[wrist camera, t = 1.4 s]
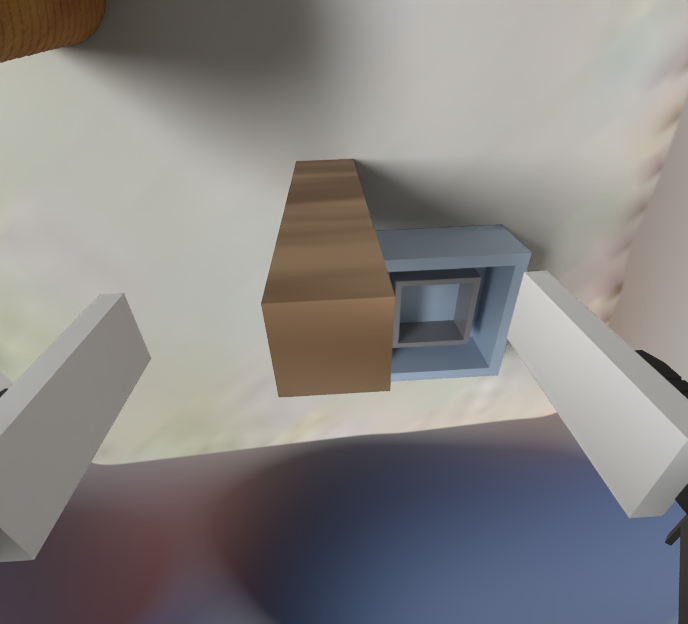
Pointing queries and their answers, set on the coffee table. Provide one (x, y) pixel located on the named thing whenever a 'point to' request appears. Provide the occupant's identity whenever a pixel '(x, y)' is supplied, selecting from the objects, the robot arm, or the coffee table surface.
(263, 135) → the coffee table surface
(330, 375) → the long wooden beam
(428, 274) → the light blue square bin
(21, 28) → the disposable coffee cup
